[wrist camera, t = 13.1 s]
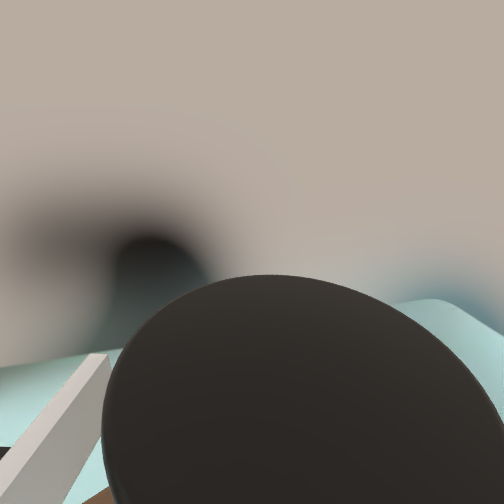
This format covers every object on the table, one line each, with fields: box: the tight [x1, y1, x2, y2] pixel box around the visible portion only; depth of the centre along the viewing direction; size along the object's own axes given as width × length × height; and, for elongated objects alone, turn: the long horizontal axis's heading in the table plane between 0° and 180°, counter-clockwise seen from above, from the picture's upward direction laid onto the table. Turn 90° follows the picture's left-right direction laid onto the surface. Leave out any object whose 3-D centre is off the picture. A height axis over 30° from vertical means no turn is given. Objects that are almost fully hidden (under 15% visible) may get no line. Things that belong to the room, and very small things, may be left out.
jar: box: [101, 275, 504, 504], centre depth 9 cm, size 9×8×12 cm
